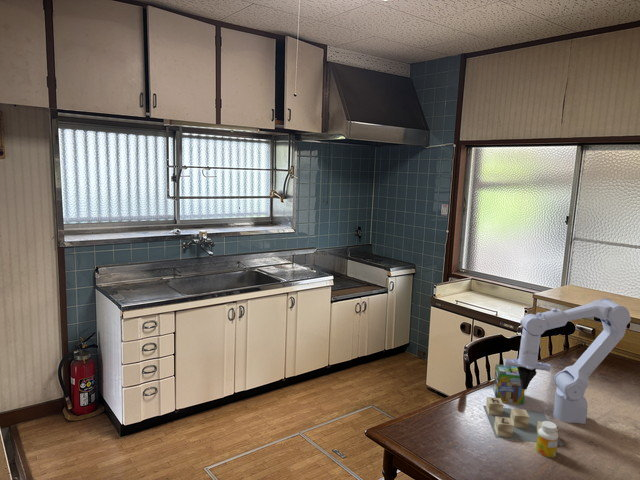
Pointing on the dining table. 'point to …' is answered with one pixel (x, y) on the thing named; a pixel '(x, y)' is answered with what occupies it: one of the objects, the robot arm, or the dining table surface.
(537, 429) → the tan cube
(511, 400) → the chalk box
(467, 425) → the dining table surface
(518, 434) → the mat
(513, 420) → the plain block
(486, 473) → the dining table surface
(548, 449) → the supplement bottle
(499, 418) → the block seven
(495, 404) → the block four
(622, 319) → the robot arm
